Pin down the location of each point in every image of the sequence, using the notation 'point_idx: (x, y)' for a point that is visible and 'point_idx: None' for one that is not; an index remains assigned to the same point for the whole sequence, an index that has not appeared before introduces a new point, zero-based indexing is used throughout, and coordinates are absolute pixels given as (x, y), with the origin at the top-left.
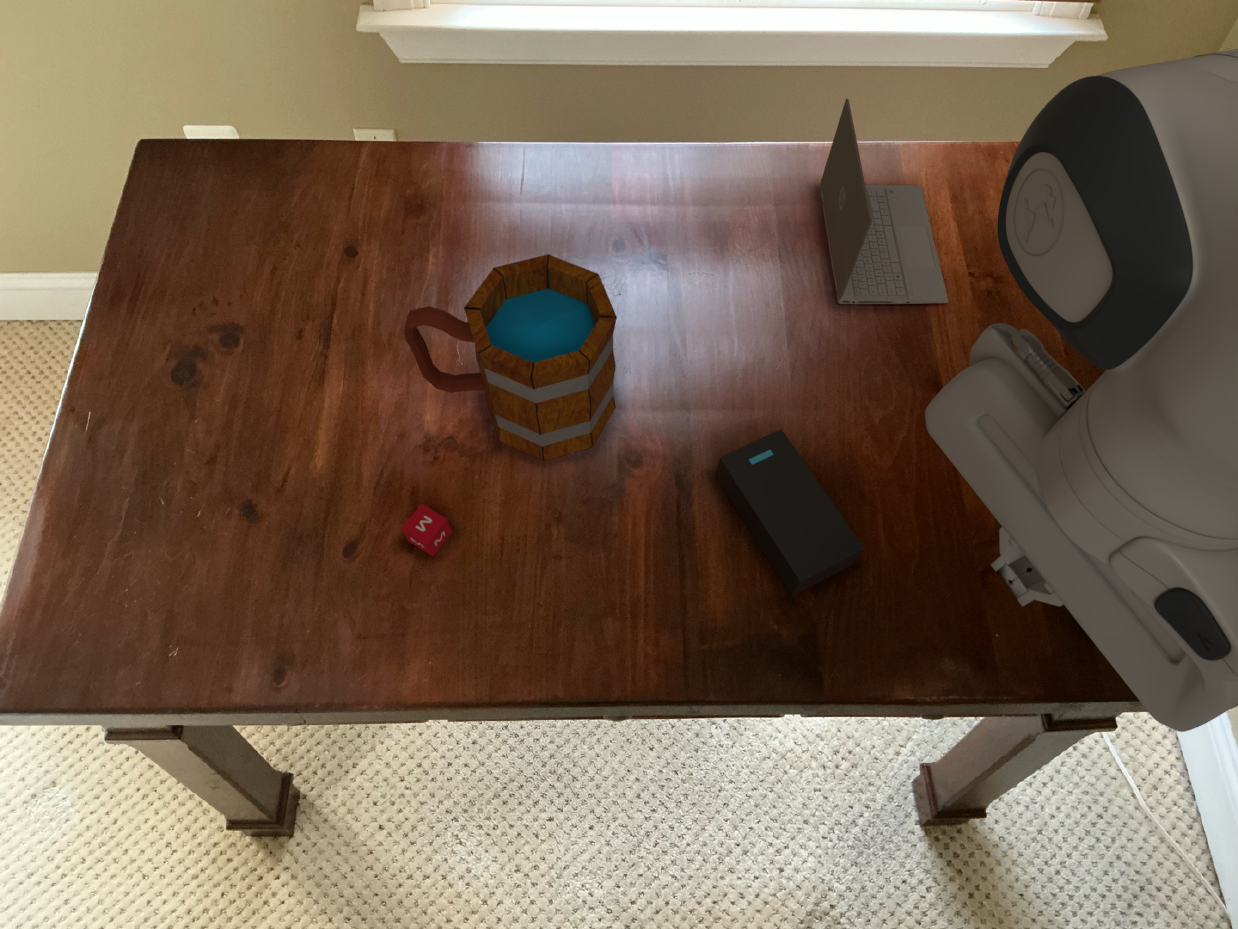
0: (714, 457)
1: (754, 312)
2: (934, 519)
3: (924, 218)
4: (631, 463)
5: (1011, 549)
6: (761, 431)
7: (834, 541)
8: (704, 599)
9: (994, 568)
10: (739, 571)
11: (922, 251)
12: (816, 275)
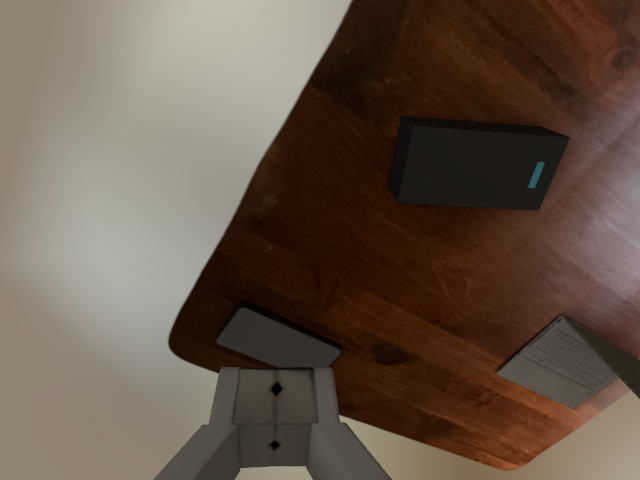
0: None
1: (616, 257)
2: (374, 266)
3: (554, 397)
4: (623, 54)
5: (339, 470)
6: None
7: (422, 183)
8: (457, 28)
9: (321, 373)
10: (454, 85)
11: (538, 383)
12: (591, 315)
